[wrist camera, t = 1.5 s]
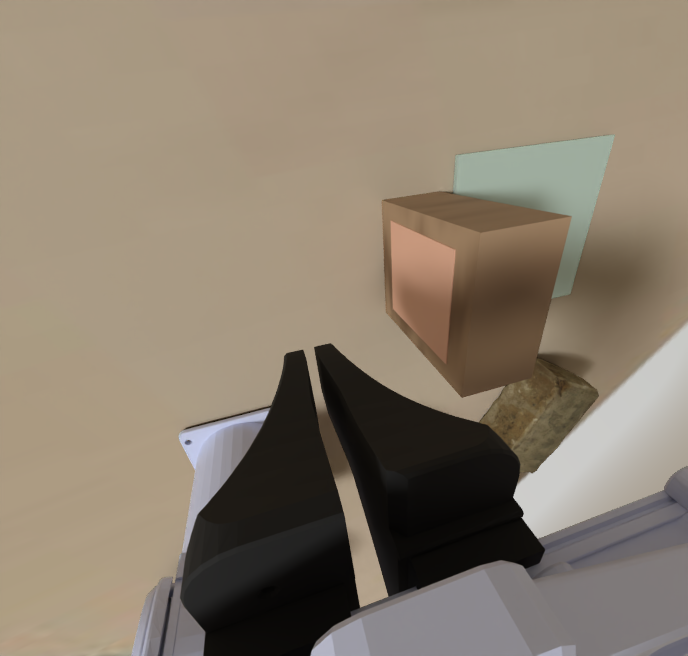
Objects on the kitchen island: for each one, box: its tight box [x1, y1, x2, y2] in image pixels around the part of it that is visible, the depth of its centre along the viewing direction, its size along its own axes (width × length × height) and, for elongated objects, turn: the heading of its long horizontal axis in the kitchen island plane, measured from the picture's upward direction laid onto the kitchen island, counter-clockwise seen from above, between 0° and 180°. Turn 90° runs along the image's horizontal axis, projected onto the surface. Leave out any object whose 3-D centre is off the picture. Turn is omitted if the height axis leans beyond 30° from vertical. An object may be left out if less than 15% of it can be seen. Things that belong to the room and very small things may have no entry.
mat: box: [453, 135, 615, 299], centre depth 24 cm, size 12×12×1 cm
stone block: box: [479, 358, 599, 473], centre depth 32 cm, size 6×12×5 cm, turn 157°
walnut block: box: [382, 191, 572, 398], centre depth 18 cm, size 8×4×10 cm, turn 6°
